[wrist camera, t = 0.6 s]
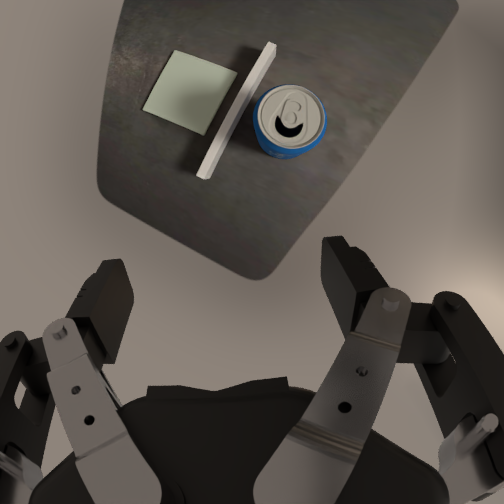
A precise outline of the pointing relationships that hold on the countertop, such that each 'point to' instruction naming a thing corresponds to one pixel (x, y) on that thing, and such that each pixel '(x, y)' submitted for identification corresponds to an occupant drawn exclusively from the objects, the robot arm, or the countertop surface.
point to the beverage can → (289, 121)
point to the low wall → (236, 111)
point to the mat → (190, 91)
